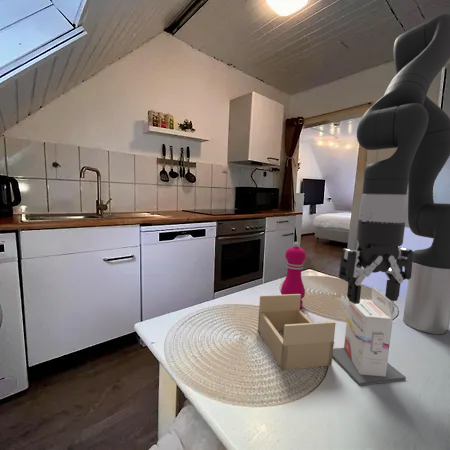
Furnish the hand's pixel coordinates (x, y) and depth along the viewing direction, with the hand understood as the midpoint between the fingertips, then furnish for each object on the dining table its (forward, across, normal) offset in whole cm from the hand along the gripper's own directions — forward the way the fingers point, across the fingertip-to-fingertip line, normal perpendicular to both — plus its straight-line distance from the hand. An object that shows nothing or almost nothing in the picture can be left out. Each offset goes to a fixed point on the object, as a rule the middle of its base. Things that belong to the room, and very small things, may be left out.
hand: (372, 300), depth 49 cm
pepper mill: (+14, +2, -28) cm, 32 cm away
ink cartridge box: (+13, 0, 0) cm, 13 cm away
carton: (+13, +12, -8) cm, 20 cm away
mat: (+14, 0, 0) cm, 14 cm away
